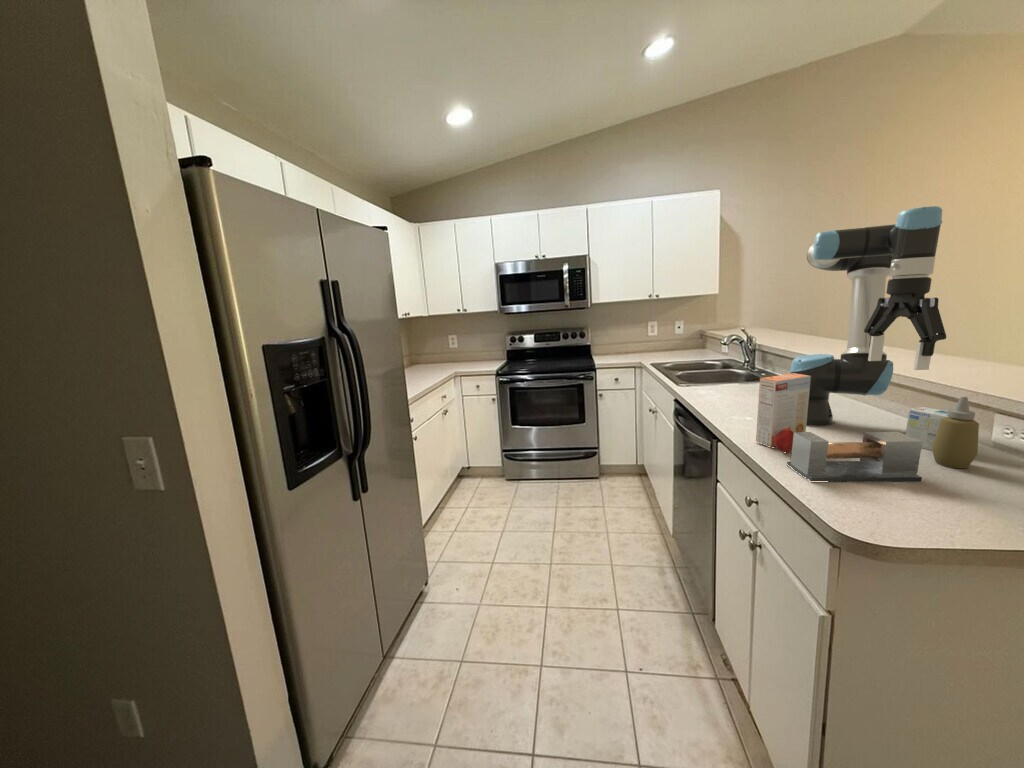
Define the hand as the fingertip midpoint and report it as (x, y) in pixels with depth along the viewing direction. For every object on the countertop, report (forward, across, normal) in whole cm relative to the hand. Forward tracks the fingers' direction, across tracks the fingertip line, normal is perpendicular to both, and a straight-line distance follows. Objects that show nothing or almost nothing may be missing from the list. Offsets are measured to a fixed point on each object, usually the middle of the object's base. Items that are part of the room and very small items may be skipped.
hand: (896, 365), depth 101 cm
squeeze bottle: (+27, 0, +17) cm, 32 cm away
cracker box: (+27, -18, -16) cm, 36 cm away
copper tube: (+23, +5, -14) cm, 27 cm away
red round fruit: (+27, -9, -19) cm, 34 cm away
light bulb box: (+27, -12, +23) cm, 37 cm away
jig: (+27, +5, -11) cm, 29 cm away
